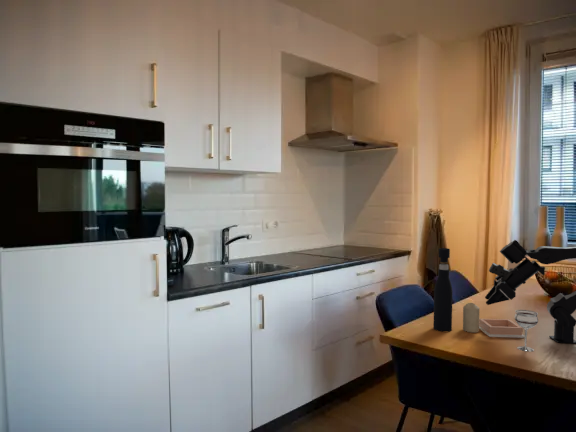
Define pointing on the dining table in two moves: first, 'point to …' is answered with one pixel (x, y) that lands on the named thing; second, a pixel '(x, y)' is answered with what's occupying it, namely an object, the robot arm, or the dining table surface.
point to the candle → (471, 318)
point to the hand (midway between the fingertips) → (486, 301)
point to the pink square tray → (501, 328)
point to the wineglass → (526, 324)
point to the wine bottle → (443, 295)
